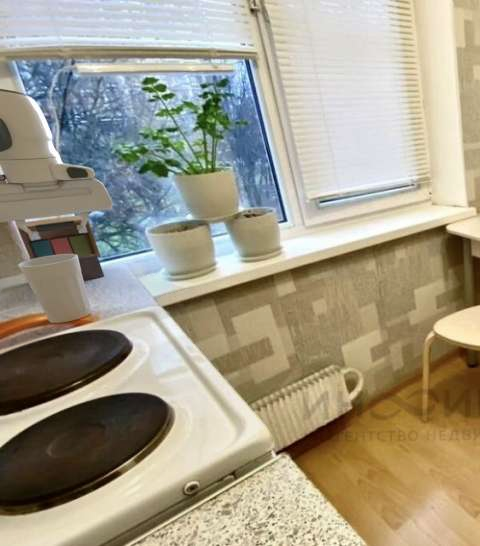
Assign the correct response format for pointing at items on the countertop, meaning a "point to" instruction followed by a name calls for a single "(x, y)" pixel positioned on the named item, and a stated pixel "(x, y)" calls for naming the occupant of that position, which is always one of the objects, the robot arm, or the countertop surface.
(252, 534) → the countertop surface
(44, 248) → the packet left
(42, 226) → the basket
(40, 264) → the cup
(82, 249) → the packet right
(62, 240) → the packet middle
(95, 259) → the basket stand
